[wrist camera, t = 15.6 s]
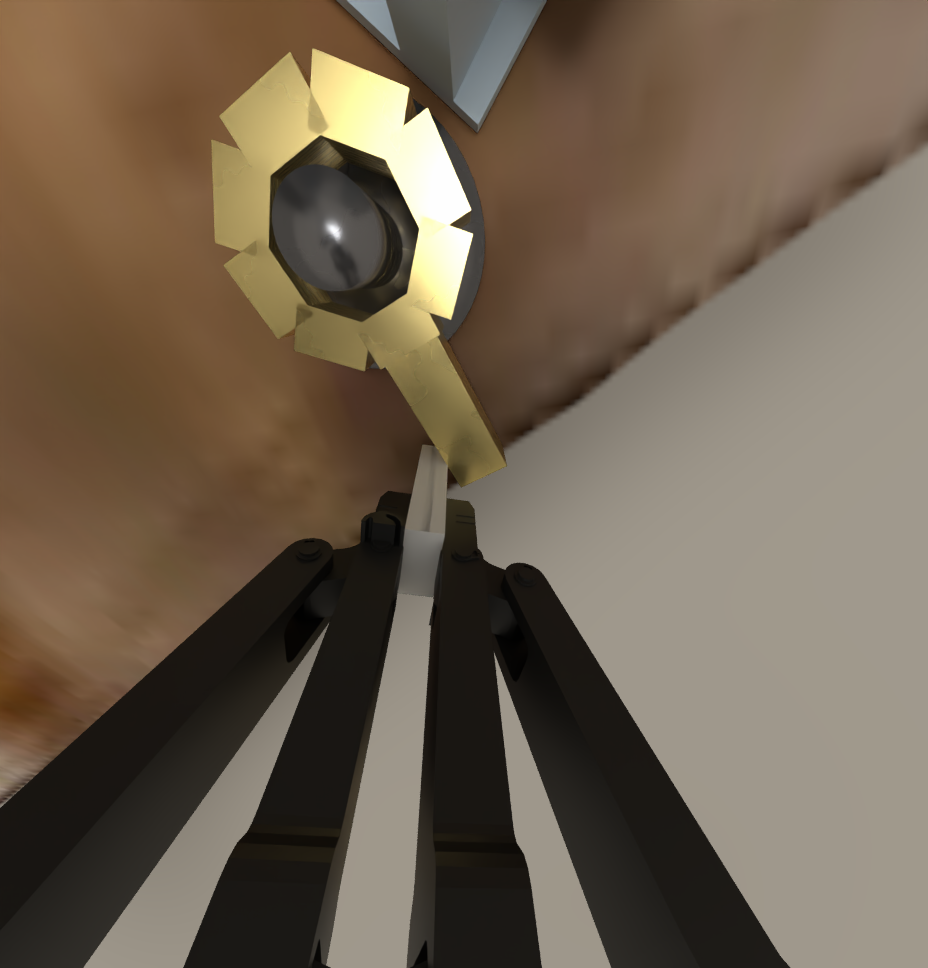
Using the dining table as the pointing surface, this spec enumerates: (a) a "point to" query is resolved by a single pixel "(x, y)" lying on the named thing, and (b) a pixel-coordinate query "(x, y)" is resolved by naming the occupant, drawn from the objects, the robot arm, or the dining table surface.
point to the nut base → (366, 233)
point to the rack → (453, 44)
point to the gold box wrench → (438, 255)
